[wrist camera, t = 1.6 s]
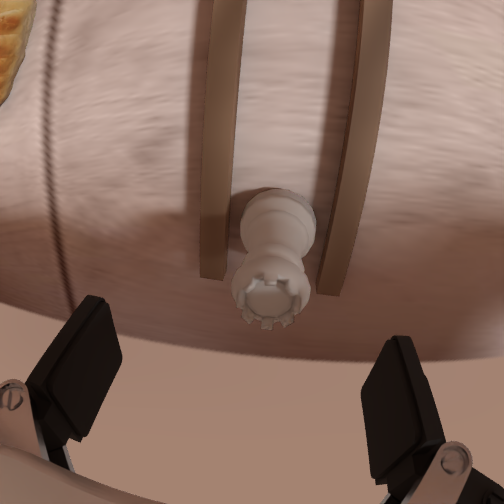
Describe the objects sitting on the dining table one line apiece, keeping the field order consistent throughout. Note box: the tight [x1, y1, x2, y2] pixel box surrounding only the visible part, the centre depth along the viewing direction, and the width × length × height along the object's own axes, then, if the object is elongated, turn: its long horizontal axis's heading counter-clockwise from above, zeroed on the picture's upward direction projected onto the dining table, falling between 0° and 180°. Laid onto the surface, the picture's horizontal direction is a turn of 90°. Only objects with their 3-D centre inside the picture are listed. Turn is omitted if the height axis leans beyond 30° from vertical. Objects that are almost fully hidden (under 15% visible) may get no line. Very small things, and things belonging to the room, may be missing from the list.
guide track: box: [200, 0, 393, 296], centre depth 14 cm, size 9×24×1 cm, turn 175°
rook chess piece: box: [231, 189, 316, 330], centre depth 15 cm, size 4×4×8 cm
